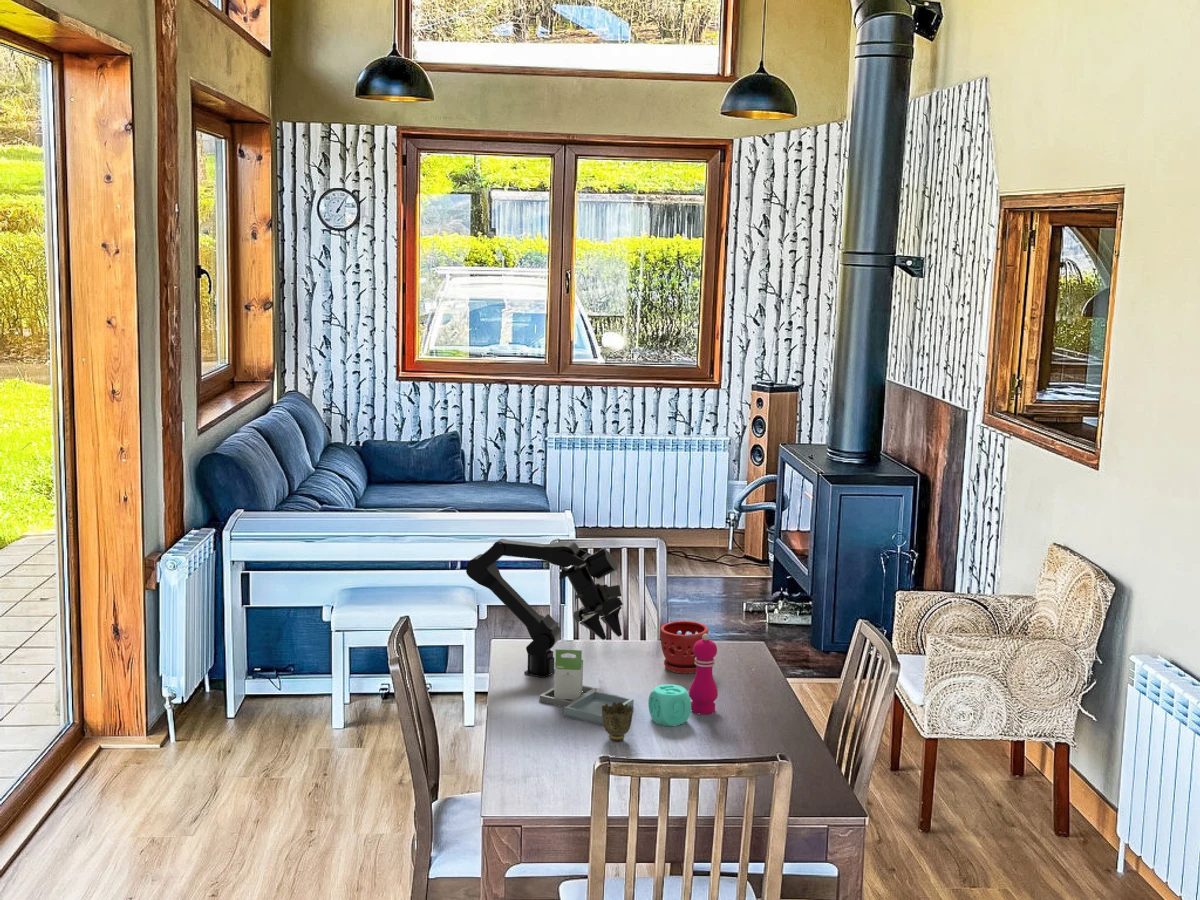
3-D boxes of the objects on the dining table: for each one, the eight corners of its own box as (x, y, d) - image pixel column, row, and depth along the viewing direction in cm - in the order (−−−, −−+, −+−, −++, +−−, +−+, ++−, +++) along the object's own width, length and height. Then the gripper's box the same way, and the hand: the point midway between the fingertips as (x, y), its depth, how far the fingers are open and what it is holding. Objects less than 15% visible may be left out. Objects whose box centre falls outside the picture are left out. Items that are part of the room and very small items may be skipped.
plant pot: (675, 658, 362) (677, 617, 360) (715, 667, 355) (717, 626, 353) (650, 669, 352) (651, 627, 350) (690, 680, 344) (692, 637, 342)
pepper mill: (721, 708, 324) (724, 632, 321) (711, 717, 317) (714, 639, 314) (694, 703, 327) (697, 627, 324) (684, 712, 320) (687, 635, 317)
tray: (564, 717, 315) (564, 707, 314) (593, 699, 327) (593, 690, 327) (605, 726, 309) (605, 716, 309) (633, 708, 322) (633, 699, 322)
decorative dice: (676, 713, 320) (677, 682, 318) (691, 724, 313) (692, 693, 311) (647, 717, 317) (648, 686, 315) (661, 728, 309) (662, 696, 308)
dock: (539, 701, 325) (539, 695, 325) (564, 686, 336) (564, 681, 336) (571, 708, 321) (571, 702, 320) (596, 693, 332) (596, 688, 331)
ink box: (582, 695, 330) (583, 645, 328) (580, 701, 326) (581, 650, 324) (555, 694, 331) (556, 644, 329) (553, 699, 327) (554, 649, 325)
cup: (609, 747, 297) (610, 715, 295) (595, 736, 303) (596, 704, 302) (637, 742, 300) (638, 710, 299) (622, 731, 306) (623, 700, 305)
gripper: (623, 567, 335) (651, 619, 336) (592, 576, 352) (619, 626, 352) (590, 587, 330) (619, 640, 330) (561, 595, 346) (588, 646, 346)
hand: (612, 637), depth 340 cm, fingers open, 9 cm apart
